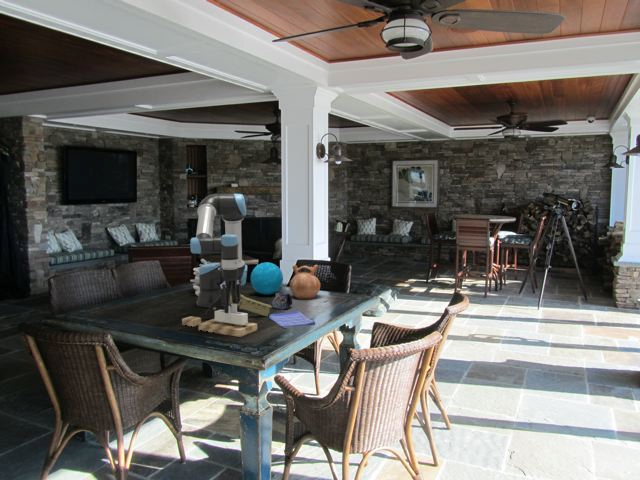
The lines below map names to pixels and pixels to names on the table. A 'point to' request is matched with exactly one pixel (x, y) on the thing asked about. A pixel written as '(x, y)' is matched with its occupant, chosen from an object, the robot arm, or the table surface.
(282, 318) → the dish towel
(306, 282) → the jug
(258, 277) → the decorative sphere
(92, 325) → the table surface
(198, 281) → the abstract sculpture
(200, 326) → the board
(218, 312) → the strip
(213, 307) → the handgun
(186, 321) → the stand
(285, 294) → the rock
